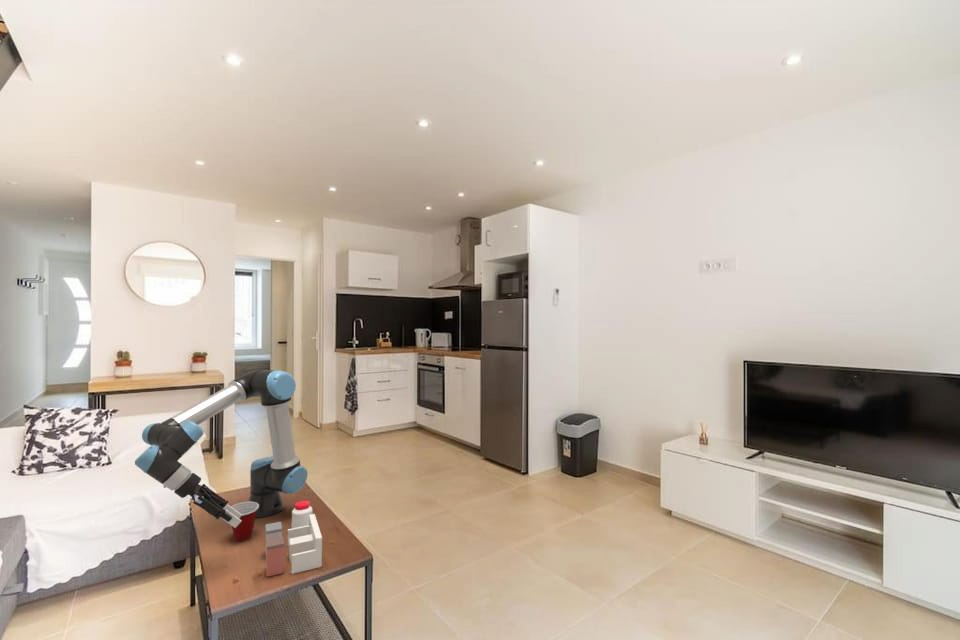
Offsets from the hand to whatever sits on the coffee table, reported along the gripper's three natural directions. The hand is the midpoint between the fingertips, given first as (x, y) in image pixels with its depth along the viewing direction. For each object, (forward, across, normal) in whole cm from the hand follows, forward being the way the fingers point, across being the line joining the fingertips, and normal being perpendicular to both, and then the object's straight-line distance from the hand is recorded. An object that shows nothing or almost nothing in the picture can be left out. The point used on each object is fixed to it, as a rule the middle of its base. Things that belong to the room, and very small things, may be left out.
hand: (238, 521), depth 151 cm
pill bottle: (+26, -14, +6) cm, 30 cm away
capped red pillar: (+18, +12, -2) cm, 22 cm away
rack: (+25, +6, +5) cm, 26 cm away
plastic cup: (+11, -18, -9) cm, 23 cm away
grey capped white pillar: (+18, 0, -2) cm, 18 cm away
